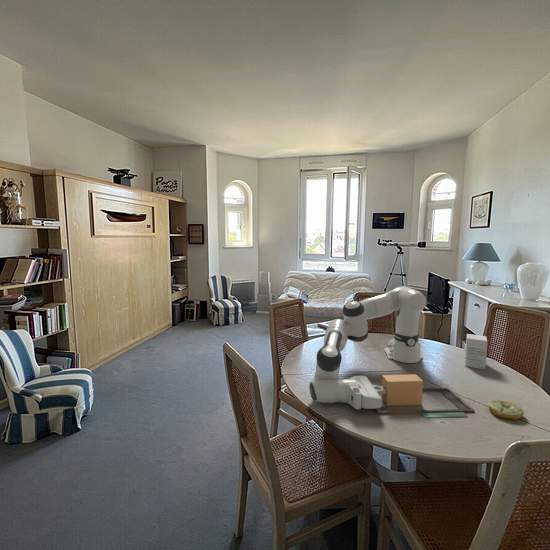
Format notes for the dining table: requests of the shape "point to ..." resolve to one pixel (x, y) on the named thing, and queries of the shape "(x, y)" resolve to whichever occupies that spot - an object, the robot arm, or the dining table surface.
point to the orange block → (402, 390)
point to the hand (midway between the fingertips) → (385, 390)
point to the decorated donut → (506, 409)
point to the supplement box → (476, 351)
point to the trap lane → (449, 395)
